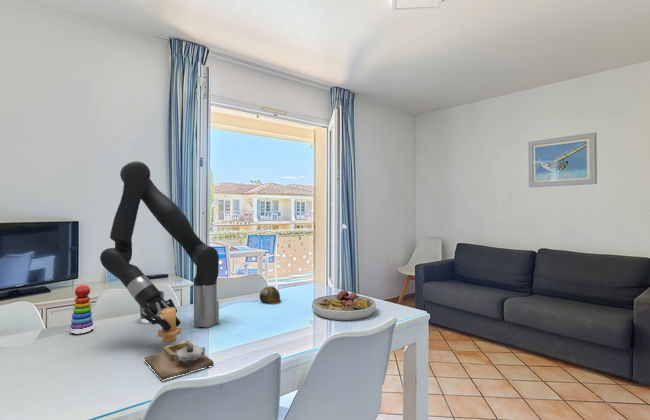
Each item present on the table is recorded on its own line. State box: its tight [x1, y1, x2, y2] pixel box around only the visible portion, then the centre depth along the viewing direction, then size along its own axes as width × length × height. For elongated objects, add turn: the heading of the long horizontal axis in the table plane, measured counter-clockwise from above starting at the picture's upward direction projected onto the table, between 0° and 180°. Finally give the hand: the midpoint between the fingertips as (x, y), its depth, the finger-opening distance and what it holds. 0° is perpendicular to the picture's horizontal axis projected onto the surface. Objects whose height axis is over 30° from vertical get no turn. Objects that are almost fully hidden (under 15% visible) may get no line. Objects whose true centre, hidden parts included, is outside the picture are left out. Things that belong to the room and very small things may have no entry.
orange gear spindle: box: [157, 306, 182, 344], centre depth 124 cm, size 8×8×11 cm
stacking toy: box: [70, 284, 94, 329], centre depth 141 cm, size 8×8×19 cm
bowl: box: [311, 289, 377, 321], centre depth 167 cm, size 30×30×8 cm
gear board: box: [143, 340, 214, 380], centre depth 111 cm, size 15×18×6 cm
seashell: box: [259, 286, 281, 305], centre depth 185 cm, size 11×9×8 cm
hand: (174, 327), depth 123 cm, fingers closed on orange gear spindle, 4 cm apart
